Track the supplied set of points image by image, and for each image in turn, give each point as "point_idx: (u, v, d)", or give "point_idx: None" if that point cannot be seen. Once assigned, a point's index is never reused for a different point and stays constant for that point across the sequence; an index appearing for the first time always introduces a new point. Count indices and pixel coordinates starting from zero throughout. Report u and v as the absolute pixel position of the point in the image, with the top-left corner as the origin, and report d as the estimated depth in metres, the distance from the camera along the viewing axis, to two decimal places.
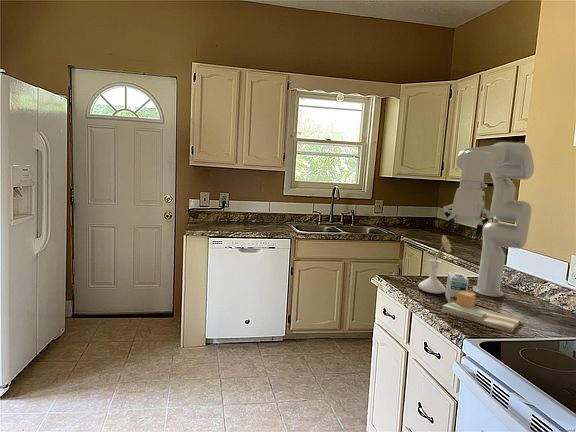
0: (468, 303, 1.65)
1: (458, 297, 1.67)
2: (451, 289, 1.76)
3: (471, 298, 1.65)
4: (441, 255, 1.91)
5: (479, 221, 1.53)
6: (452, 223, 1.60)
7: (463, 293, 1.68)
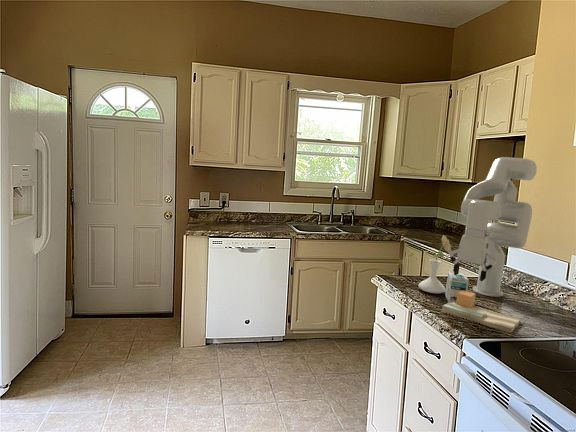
0: (468, 303, 1.65)
1: (458, 297, 1.67)
2: (451, 289, 1.76)
3: (471, 298, 1.65)
4: (441, 255, 1.91)
5: (483, 267, 1.62)
6: (457, 267, 1.69)
7: (463, 293, 1.68)
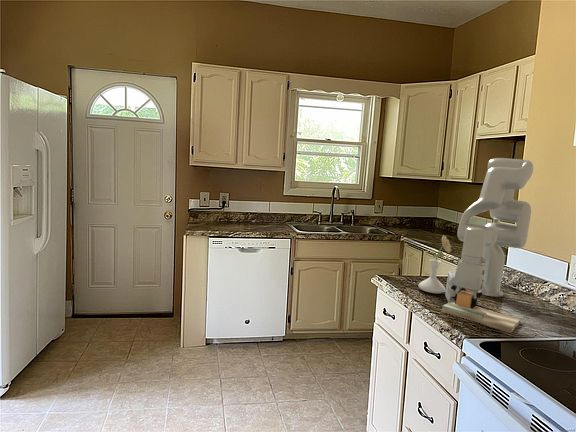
0: (468, 303, 1.65)
1: (458, 297, 1.67)
2: (451, 289, 1.76)
3: (471, 298, 1.65)
4: (441, 255, 1.91)
5: (474, 295, 1.65)
6: None
7: (463, 293, 1.68)
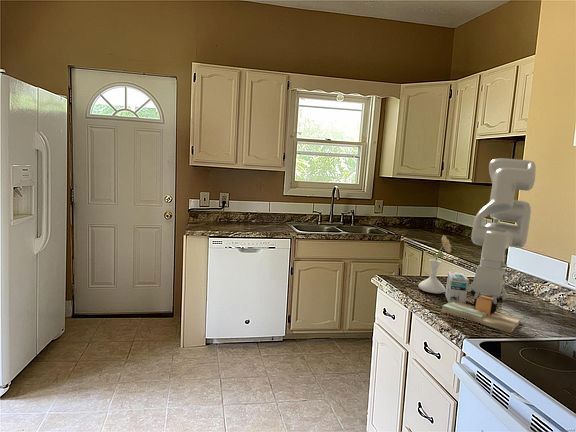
0: (488, 308, 1.61)
1: (478, 302, 1.63)
2: (451, 289, 1.76)
3: (491, 303, 1.61)
4: (441, 255, 1.91)
5: (494, 300, 1.61)
6: None
7: (482, 298, 1.63)
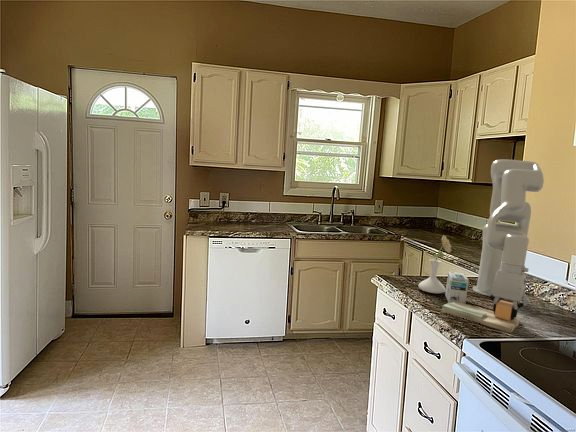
0: (508, 314, 1.56)
1: (497, 307, 1.58)
2: (451, 289, 1.76)
3: (511, 309, 1.57)
4: (441, 255, 1.91)
5: (515, 305, 1.56)
6: None
7: (502, 303, 1.59)
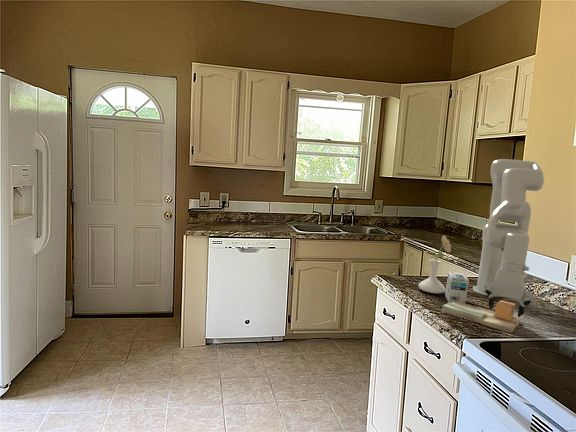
0: (508, 314, 1.56)
1: (497, 307, 1.58)
2: (451, 289, 1.76)
3: (511, 309, 1.57)
4: (441, 255, 1.91)
5: (521, 303, 1.55)
6: (493, 301, 1.62)
7: (502, 303, 1.59)
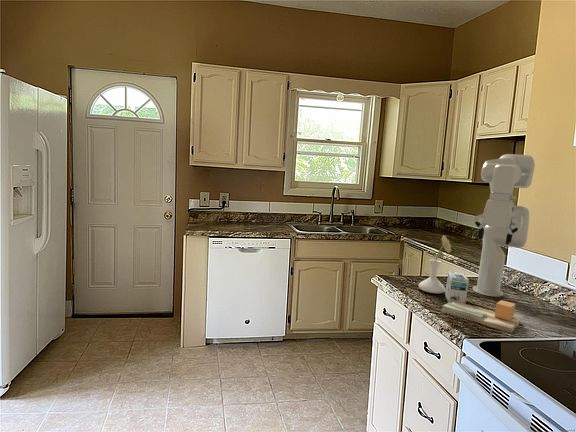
0: (508, 314, 1.56)
1: (497, 307, 1.58)
2: (451, 289, 1.76)
3: (511, 309, 1.57)
4: (441, 255, 1.91)
5: (509, 231, 1.64)
6: (482, 232, 1.71)
7: (502, 303, 1.59)
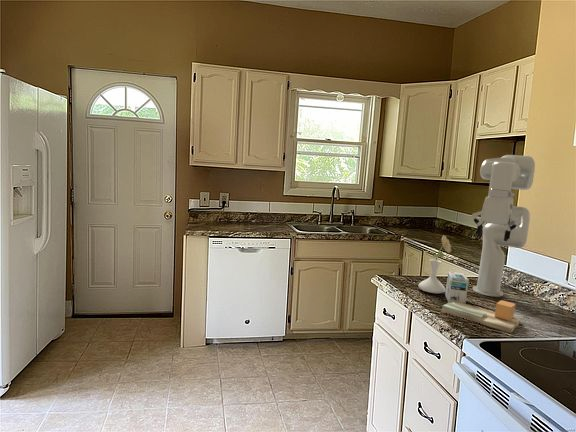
0: (508, 314, 1.56)
1: (497, 307, 1.58)
2: (451, 289, 1.76)
3: (511, 309, 1.57)
4: (441, 255, 1.91)
5: (507, 227, 1.64)
6: (481, 229, 1.71)
7: (502, 303, 1.59)
